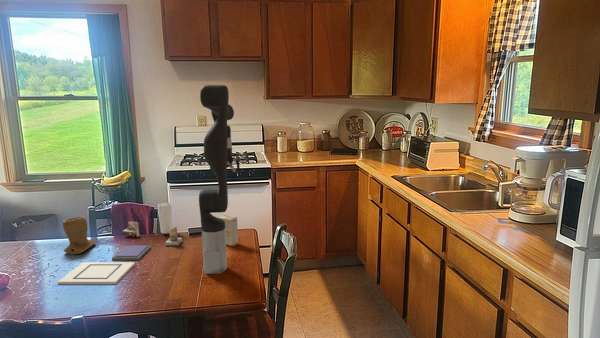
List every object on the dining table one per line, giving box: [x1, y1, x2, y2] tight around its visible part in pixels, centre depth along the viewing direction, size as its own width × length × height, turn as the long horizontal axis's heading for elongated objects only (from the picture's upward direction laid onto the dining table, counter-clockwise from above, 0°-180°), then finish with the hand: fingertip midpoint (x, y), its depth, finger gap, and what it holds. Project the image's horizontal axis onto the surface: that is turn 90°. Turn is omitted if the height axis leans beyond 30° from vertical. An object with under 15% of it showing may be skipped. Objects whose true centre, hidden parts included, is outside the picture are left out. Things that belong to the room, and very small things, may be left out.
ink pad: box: [111, 245, 152, 261], centre depth 186 cm, size 14×12×2 cm
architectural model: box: [122, 221, 140, 238], centre depth 209 cm, size 3×7×7 cm, turn 74°
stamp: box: [165, 226, 183, 247], centre depth 198 cm, size 6×6×8 cm
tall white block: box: [157, 201, 173, 235], centre depth 213 cm, size 7×7×15 cm
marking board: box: [57, 261, 136, 285], centre depth 166 cm, size 18×22×1 cm
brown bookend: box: [62, 215, 96, 255], centre depth 191 cm, size 15×12×15 cm
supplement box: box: [217, 214, 239, 247], centre depth 197 cm, size 8×5×13 cm, turn 58°
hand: (225, 179), depth 206 cm, fingers open, 8 cm apart
